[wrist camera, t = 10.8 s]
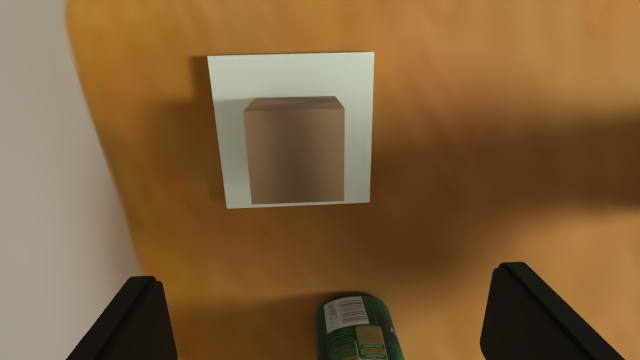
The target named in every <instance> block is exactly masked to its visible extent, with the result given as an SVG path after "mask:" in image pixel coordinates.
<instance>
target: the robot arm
mask: <svg viewBox="0 0 640 360" xmlns="http://www.w3.org/2000/svg"><path fill="white" fill-rule="evenodd" d="M480 347H481V351H482V353H483V355H484V357H485V359H486V360H625V359H624V358H623V357H622V356H621V355H620V354H619V353H618V352H617V351H616V350H615V349H613V348H612V347H611V346H610V345H609V344H608V343H607V342H606V341H605V340H604V339H603V338H602V337H601V336H600V335H599V334H598V333H597V332H596V331H595V330H594V329H593V328H592V327H591V326H590V325H589V324H588V323H587V322H586V321H585V320H584V319H582V318H581V317H580V316H579V315H578V314H577V313H576V312H575V311H574V310H573V309H572V308H571V307H570V306H569V305H568V304H567V303H566V302H565V301H564V300H563V299H562V298H561V297H560V296H559V295H558V294H557V293H556V292H555V291H554V290H553V289H552V288H550V287H549V286H548V285H547V284H546V283H545V282H544V281H543V280H542V279H541V278H540V277H539V276H538V275H537V274H536V273H535V272H534V271H533V270H532V269H531V268H530V267H529V266H528V265H527V264H525V263H524V262H507V263H501V264H500V265H499V267H498V268H495V269H494V271H493V274H492V280H491V285H490V290H489V296H488V301H487V306H486V311H485V317H484V322H483V327H482V333H481V338H480ZM66 360H177V351H176V346H175V341H174V337H173V332H172V327H171V322H170V317H169V313H168V308H167V303H166V298H165V294H164V289H163V285H162V282H161V281H156V279H155V277H154V276H137V277H130V278H129V279H128V280H127V282H126V283H125V284H124V285H123V287H122V288H121V289H120V290H119V292H118V293H117V294H116V296H115V297H114V298H113V300H112V301H111V302H110V304H109V305H108V306H107V308H106V309H105V310H104V311H103V313H102V314H101V315H100V317H99V318H98V319H97V321H96V322H95V323H94V324H93V326H92V327H91V328H90V330H89V331H88V332H87V333H86V335H85V336H84V337H83V338H82V340H81V341H80V342H79V343H78V345H77V346H76V347H75V349H74V350H73V351H72V352H71V354H70V355H69V356H68V358H67V359H66Z"/></svg>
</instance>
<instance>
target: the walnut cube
mask: <svg viewBox="0 0 640 360" xmlns="http://www.w3.org/2000/svg"><path fill="white" fill-rule="evenodd" d="M243 117H244V127H245V138H246V149H247V159H248V170H249V180H250V191H251V202H252V205H254V204H280V203H306V202H333V201H344V148H345V108H344V107H343V106H342V104H341V103H340V102H339V100H338V99H337V98H336V96H314V97H273V98H255V99H254V100H253V101H252V102H251V103H250V104H249V105H248V106H247V107H246V109H245V110H244V111H243Z"/></svg>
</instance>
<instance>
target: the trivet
mask: <svg viewBox="0 0 640 360" xmlns="http://www.w3.org/2000/svg"><path fill="white" fill-rule="evenodd" d="M207 58H208V66H209V73H210V81H211V89H212V97H213V104H214V112H215V120H216V128H217V135H218V143H219V151H220V159H221V167H222V174H223V182H224V190H225V198H226V205H227V209H233V208H256V207H279V206H302V205H325V204H348V203H370V176H371V143H372V110H373V76H374V52H342V53H302V54H262V55H222V56H207ZM314 96H336V98H337V99H338V100H339V102H340V103H341V104H342V106H343V107H344V108H345V148H344V201H333V202H306V203H280V204H254V205H252V202H251V191H250V180H249V170H248V159H247V149H246V138H245V127H244V117H243V111H244V110H245V109H246V107H247V106H248V105H249V104H250V103H251V102H252V101H253V100H254V99H255V98H273V97H314Z"/></svg>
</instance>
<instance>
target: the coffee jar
mask: <svg viewBox="0 0 640 360" xmlns="http://www.w3.org/2000/svg"><path fill="white" fill-rule="evenodd" d="M315 334H316V352H317V360H404V357H403V354H402V351H401V348H400V345H399V341H398V338H397V335H396V332H395V329H394V326H393V323H392V320H391V317H390V314H389V311H388V308H387V306H386V305H385V304H384V303H383V302H382V301H381V300H379V299H378V298H375V297H372V296H365V295H350V296H343V297H339V298H337V299H333V300H331V301H329V302H327V303H326V304H324V305H323V306H322V307H321V308H320V309H319V311H318V313H317V316H316V323H315Z"/></svg>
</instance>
